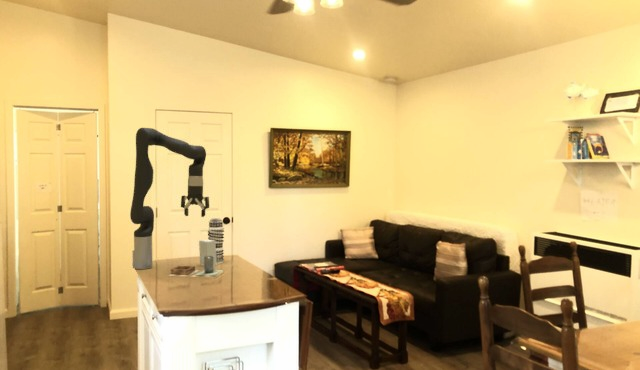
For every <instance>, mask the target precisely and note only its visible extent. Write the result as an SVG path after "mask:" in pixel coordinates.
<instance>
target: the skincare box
mask: <svg viewBox="0 0 640 370" xmlns="http://www.w3.org/2000/svg"><path fill="white" fill-rule="evenodd" d="M198 246H199V266H201V267H204V257H205V256H213V268H214V267H217V265H218V264H216V244H215V240H209V239H208V238H207V239H201V240H198Z"/></svg>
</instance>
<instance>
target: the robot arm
mask: <svg viewBox="0 0 640 370" xmlns="http://www.w3.org/2000/svg"><path fill="white" fill-rule="evenodd" d="M150 146H152V147H153V146H158V147H163V148H166V150H169V151H170V152H173V153H175V154H178V155H180V156H183V157H184V158H187V159H189V160H193V162H192V163H191V164H190V165H188V178H187V195H181V198H180V199H181V200H180V208H183V209H184V210H183V212H184V216H185V217H188V216H189V207H190V206H191V205H192V206H193V205H195V206H196V205H197V206H199V207H200V208H201V210H200V211H201V215H200V216H201V218H204V217H205V216H206V210H208V209H209V208H210V197H209V196H204V179H203V178H204V176H203V175H204V166H205V162H206V157H207V151H206V148H205V147H204V146H202V145H194V144H189V143H188V142H186V141H184V140H182V139H178V138H174V137H171V136H169V135H166V134H164V133H162V132H160V131H158V129H155V128H151V127H139V128H138V130H137V131H136V134H135V168H134V169H135V171H134V181H133V183H134V184H133V195H132V201H131V206H130V212H129V213H130V215H129V216H130V221H131V222H132V223H133V224H134V225H139V227H138V228H137V229H135V230H134V231H133V250H132V269H135V270H146V269H147V270H148V269H151V268H153V232H154V225H155V223H154V222H155V213H154V209H153V208H152V207H151V206H149V205H145V203H144V202H145V198H146V196H147V194H148V192H149V190H150V189H151V188H152V186H153V182H154V167H153V164H152V163H151V160H150V158H149V147H150ZM186 200H187V203H186ZM203 201H204V202H203Z"/></svg>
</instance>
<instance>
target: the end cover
mask: <svg viewBox="0 0 640 370" xmlns="http://www.w3.org/2000/svg"><path fill="white" fill-rule="evenodd" d="M203 268H204V269H203V270H204V273H213V270H214V267H213V256H205V257H204V266H203Z"/></svg>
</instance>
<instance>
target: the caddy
mask: <svg viewBox="0 0 640 370" xmlns="http://www.w3.org/2000/svg"><path fill="white" fill-rule="evenodd" d="M223 274H224V270H223V269H213V273H204V269H196V266H195V265H177V266H175V267H174V268H171V269H170V273H169V274H168V273H167V274H166V275H165V276H166V277H167V276H168V277H169V276H170V277H190V278H191V277H194V278H195V277H196V278H214V280H215V279H217V278H219V277H220V276H222V275H223Z"/></svg>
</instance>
